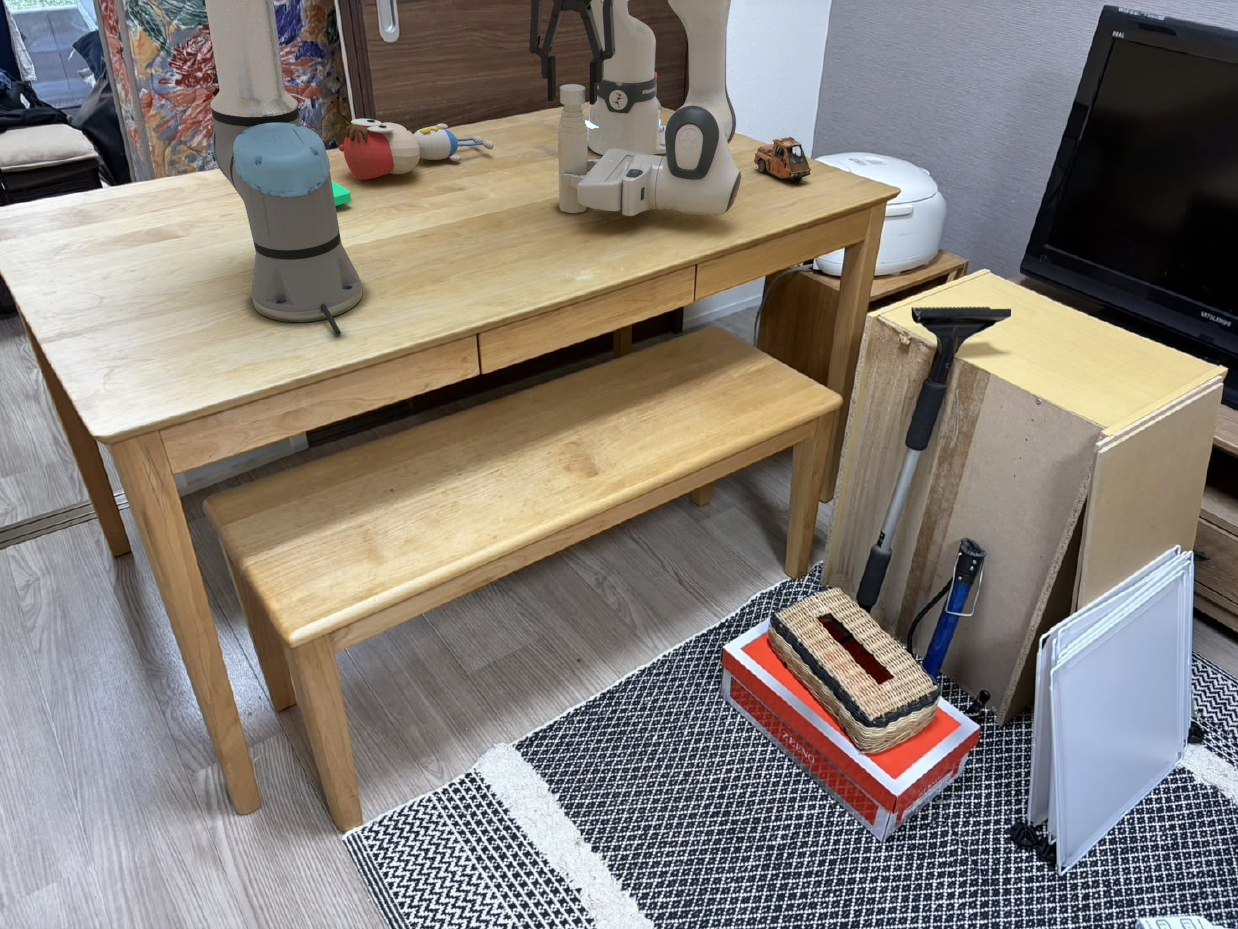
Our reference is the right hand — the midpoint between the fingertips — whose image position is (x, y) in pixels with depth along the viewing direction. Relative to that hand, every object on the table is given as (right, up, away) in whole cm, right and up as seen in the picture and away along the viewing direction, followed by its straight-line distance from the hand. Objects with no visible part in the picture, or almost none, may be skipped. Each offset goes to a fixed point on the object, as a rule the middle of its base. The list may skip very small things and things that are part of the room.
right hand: (568, 171), depth 162 cm
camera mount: (-44, -5, +2) cm, 45 cm away
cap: (+1, +11, -8) cm, 14 cm away
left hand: (+1, +10, -7) cm, 12 cm away
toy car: (+41, +5, +20) cm, 45 cm away
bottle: (+1, -5, +4) cm, 6 cm away
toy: (-30, +7, +19) cm, 36 cm away
